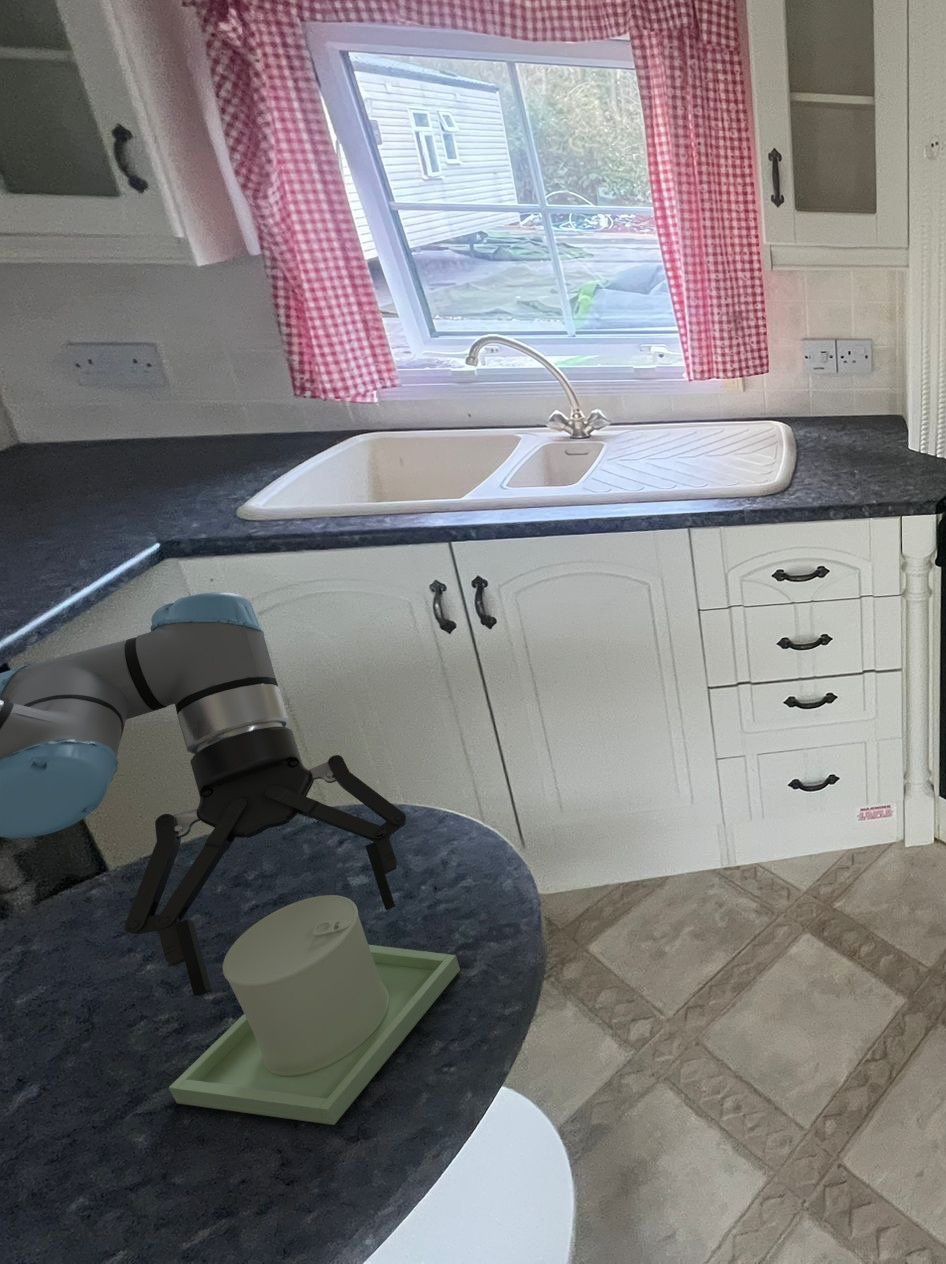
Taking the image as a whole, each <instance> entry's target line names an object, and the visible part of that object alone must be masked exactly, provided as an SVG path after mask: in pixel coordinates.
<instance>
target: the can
mask: <svg viewBox="0 0 946 1264" xmlns="http://www.w3.org/2000/svg"><path fill="white" fill-rule="evenodd" d="M369 945H370V944H369V943H368V940H367V937H366V933H365V930H364V928H363V925H362V922H361V918H360V916H359V909H358V906H357V905H356V904H355V902H354V901H352V899H350V898H348V897H346V896H342V895H338V894H337V895H335V894H324V895H323V894H322V895H316V896H312V897H308V898H304V899H301V900H298V901H295V902H292V903H290V904H287V905H285V906H283V907H281V908H278V909H277V910H275V911H273V912H271V913H269V914H268V915H266V916H264V917H263V918H261V919H259V920H258V921H257V922H256V923H254V924H253V925H251V926H250V927H249V928H248V929H247V930H245V931H244V932H243V933H242V934H241V935H240V936H239V937H238V938H236V940H235V941H234V942H233V944H232V945H231V946H230V948H229V949H228V951H227V953H226V955H225V957H224V958H223V962H222V974H223V976H224V978H225V979H226V980H227V982H228V983H229V985H230V988H231V990H232V991H233V993H234V996H235V997H236V1000H237V1001H238V1003H239V1006H240V1008H241V1010H242V1012H243V1014H245V1016H246V1018H247V1021H248V1023H249V1025H250V1027H251V1029H252V1032H253V1034H254V1036H255V1038H256V1041H257V1043H258V1045H259V1048H260V1050H261V1053H262V1060H263V1063H264V1065H265V1067H266V1068H267V1069H268V1070H269V1071H270V1072H272V1073H274V1074H276V1075H280V1076H299V1075H304V1074H308V1073H312V1072H315V1071H318V1070H320V1069H323V1068H325V1067H327V1066H329V1065H331V1064H333V1063H335V1062H337V1061H339V1060H341V1059H342V1058H344V1057H345V1056H347V1055H348V1054H350V1053H351V1052H353V1051H354V1050H355V1049H357V1048H358V1047H359V1046H360V1045H361V1044H362V1043H364V1042H365V1041H366V1040H367V1039H368V1038H369V1037H370V1036H371V1035H372V1034H373V1032H374V1031H375V1030H376V1029H377V1028H378V1026H379V1025H380V1023H381V1022H382V1020H383V1018H384V1017H385V1015H386V1012H387V1010H388V1006H389V993H388V990H387V989H386V987H385V986H384V985H383V983H382V980H381V978H380V975H379V973H378V970H377V967H376V965H375V962H374V959H373V956H372V954H371V951H370V948H369Z"/></svg>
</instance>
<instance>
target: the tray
mask: <svg viewBox="0 0 946 1264" xmlns="http://www.w3.org/2000/svg"><path fill="white" fill-rule="evenodd" d="M368 945H369V948H370V951H371V954H372V956H373V959H374V962H375V965H376V967H377V970H378V973H379V975H380V978H381V980H382V983H383V985H384V986H385V987H386V989H387V990H388V993H389V1006H388V1010H387V1012H386V1015H385V1017H384V1018H383V1020H382V1022H381V1023H380V1025H379V1026H378V1028H377V1029H376V1030H375V1031H374V1032H373V1034H372V1035H371V1036H370V1037H369V1038H368V1039H367V1040H366V1041H365V1042H364V1043H362V1044H361V1045H360V1046H359V1047H358V1048H357V1049H355V1050H354V1051H353V1052H351V1053H350V1054H348V1055H347V1056H345V1057H344V1058H342V1059H341V1060H339V1061H337V1062H335V1063H333V1064H331V1065H329V1066H327V1067H325V1068H323V1069H320V1070H318V1071H315V1072H312V1073H308V1074H304V1075H299V1076H280V1075H276V1074H274V1073H272V1072H270V1071H269V1070H268V1069H267V1068H266V1067H265V1065H264V1063H263V1060H262V1053H261V1050H260V1048H259V1045H258V1043H257V1041H256V1038H255V1036H254V1034H253V1032H252V1029H251V1027H250V1025H249V1023H248V1021H247V1018H246V1016H245V1014H244V1013H243V1014H242V1015H241V1016H240V1017H239V1018H238V1019H237V1020H236V1021H235V1022H234V1023H233V1024H232V1025H231V1026H230V1027H228V1029H227V1030H226V1031H225V1032H223V1034H222V1035H221V1036H219V1038H218V1039H217V1040H216V1041H214V1043H213V1044H211V1045H210V1046H209V1047H208V1048H207V1049H206V1050H205V1051H204V1052H203V1053H202V1054H201V1055H200V1056H199V1057H198V1058H197V1059H196V1060H195V1061H194V1062H193V1063H192V1064H191V1065H190V1066H189V1067H188V1068H187V1069H186V1070H185V1071H184V1072H183V1073H182V1074H180V1075H179V1076H178V1078H176V1080H175V1081H173V1082H172V1083H171V1084H170V1085H169V1087H168V1090H169V1092H170V1093H171V1096H172V1098H173V1099H174V1101H175V1103H176V1104H179V1105H186V1106H194V1107H201V1108H208V1109H215V1110H216V1109H217V1110H221V1111H222V1110H223V1111H229V1112H237V1113H243V1114H251V1115H257V1116H258V1115H259V1116H267V1117H274V1118H280V1119H287V1120H294V1121H295V1120H297V1121H303V1122H309V1123H310V1122H311V1123H317V1124H323V1125H324V1124H325V1125H331V1126H334V1125H336V1123H337V1122H338V1121H339V1120H340V1119H341V1118H342V1116H343V1115H344V1114H345V1112H346V1111H347V1110H348V1109H349V1108H350V1107H351V1105H352V1104H353V1103H354V1102H355V1100H356V1099H357V1098H358V1097H359V1096H360V1095H361V1093H362V1092H363V1090H364V1089H365V1088H366V1087H367V1085H368V1084H369V1083H370V1082H371V1080H372V1079H373V1078H374V1077H375V1075H377V1073H378V1072H379V1071H380V1070H381V1068H382V1067H383V1066H384V1064H385V1063H386V1062H387V1061H388V1059H390V1058H391V1056H392V1055H393V1053H394V1052H395V1051H396V1050H397V1049H398V1048H399V1046H400V1045H401V1044H402V1042H403V1041H404V1040H405V1039H406V1037H407V1036H408V1035H409V1034H410V1033H411V1031H412V1030H413V1029H414V1027H415V1026H416V1025H417V1024H418V1022H420V1020H421V1019H422V1017H423V1016H425V1014H426V1013H427V1011H428V1010H429V1009H430V1008H431V1007H432V1005H433V1004H434V1003H435V1002H436V1001H437V999H438V998H439V997H440V996H441V994H443V992H444V990H446V988H447V987H448V986H449V984H450V983H451V982H452V981H453V980H454V978H455V977H456V976H457V974H459V972H460V971H461V968H460V964H459V961H458V957H457V955H456V954H451V953H450V954H448V953H440V952H433V951H423V950H414V949H407V948H400V947H392V946H391V947H390V946H382V945H375V944H368Z"/></svg>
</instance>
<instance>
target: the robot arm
mask: <svg viewBox="0 0 946 1264" xmlns="http://www.w3.org/2000/svg"><path fill="white" fill-rule="evenodd" d="M172 705H174V706H175V711H176V714H177V721H178V723H179V727H180V730H181V734H182V737H183V740H184V745H185V747H186V752H187V753H190V754H192V755H193V756H192V757H191V759H190V766H191V769H192V773H193V777H194V780H195V784H196V787H197V791H198V794H199V803H198V806H197V808H195V809H191V810H188V811H184V812H180V813H177V814H170V813H163V814H161V815H159V816H158V817H157V818H156V820H155V821H154V822H155V823H154V825H155V838H156V842H155V845H154V847H153V850H152V853H151V855H150V858H149V860H148V863H147V866H146V868H145V871H144V874H143V876H142V879H141V882H140V885H139V887H138V889H137V891H136V894H135V897H134V900H133V902H132V905H131V908H130V910H129V913H128V916H127V918H126V920H125V924H124V927H123V929H124V931H125V932H127V933H128V934H133V935H142V934H146V933H154V932H156V933H157V934H158V935H159V940H160V943H161V947H162V950H163V951H162V952H163V954H164V955H163V956H164V959H165V962H166V963H168V964H169V966H176V965H180V964H182V963H184V964H185V967H186V971H187V976H188V979H189V982H190V983H189V984H190V987H191V991H192V995H193V997H202V996H204V995H206V994H208V993H210V992H212V989H213V988H212V985H211V982H210V978H209V975H208V970H207V967H206V963H205V959H204V955H203V952H202V949H201V945H200V941H199V938H198V937H199V936H198V933H197V930H196V926H195V923H194V921H193V920H191V919H184V920H183V918H184V917H185V916H186V914H187V912H188V911H189V909H190V908H191V906H192V904H193V903H194V902H195V900H196V898H197V897H198V895H199V894H200V892H201V891H202V889H203V888H204V886H205V884H206V883H207V881H208V879H209V878H210V877H211V875H212V873H213V872H214V870H215V868H216V867H217V866H218V864H219V863H220V860H221V859H222V857H223V856H224V854H225V853H226V852H227V851H228V850H229V849H230V848H231V845H232V844H233V842H234V841H235V840H236V838H238V839H242V838H243V839H244V838H247V839H250V838H251V837H254V836H257V835H260V834H261V833H262V832H263V833H264V831H266V830H268V829H272V828H277V827H281V826H284V825H286V824H289V823H290V821H291V820H293V819H294V818H295V817H296V816H297V815H298V814H299V815H301V816H304V817H307V818H310V819H313V820H316V821H320V822H322V823H324V824H327V825H330V826H332V827H334V828H337V829H340V830H343V831H345V832H348V833H351V834H353V835H356V836H358V837H361V838H363V839H366V840H369V841H370V842H371V841H372V842H371V843H369V844H367V845H365V846H364V847H365V849H366V854H367V857H368V859H369V863H370V865H371V868H372V872H373V875H374V878H375V881H376V884H377V888H378V890H379V894H380V897H381V900H382V903H383V907H384V910H385V911H388V910H390V909H393V908H395V907H396V904H395V900H394V898H393V894H392V892H391V888H390V885H389V882H388V879H387V875H386V874H388V873H390V872H393V871H395V870H397V868H398V867H397V866H398V861H397V858H396V855H395V852H394V849H393V846H392V843H391V838H392V836H393V835H394V834H395V833H396V832H397V831H399V830H400V829H402V828H404V827H405V826H406V824H407V821H408V820H407V815H406V814H405V812H403V811H402V810H401V809H399V808H398V807H397V806H396V805H394V804H393V803H391V802H390V801H389V800H387V798H385V797H383V796H382V795H381V794H379V792H376V790H374V789H373V788H371V786H369V785H368V784H367V783H365V782H364V781H362V780H361V779H360V778H358V777H357V776H356V775H354V774H353V773H352V772H351V771H350V770H349V768H348V765H347V764H346V761H345V760H344V758H343V756H342V755H340V754H334V755H332V756H330V757H329V758H328V760H327V761H326V762H323V763H321V764H319V765H317V766H313V767H312V768H310V769H309V768H307V767H306V766H304V764H303V761H302V758H301V755H300V751H299V748H298V744H297V741H296V737H295V735H294V732H293V729H291V728H288V727H287V725H288V724H289V722H290V720H289V719H290V718H289V716H288V712H287V709H286V706H285V702H284V699H283V696H282V693H281V690H280V687H279V684H278V681H277V677H276V674H275V670H274V667H273V663H272V660H271V656H270V653H269V649H268V645H267V641H266V638H265V632H264V631H263V629H262V628H261V626H260V623H259V621H258V617H257V615H256V612H255V610H254V607H253V604H252V602H251V601H250V599H248V598H246V597H245V596H243V595H241V594H237V593H233V592H227V591H225V592H224V591H213V592H204V593H198V594H193V595H189V596H184V597H181V598H178V599H177V600H175V601H174V602H170V603H166V604H163V605H162V606H160V607H158V608H157V609H156V610H155V611H154V613H153V614H152V615H151V626H150V631H149V632H145V633H143V634H138V635H137V636H136V637H131V638H127V639H124V640H120V641H116V642H113V643H109V644H104V645H100V646H97V647H93V648H89V649H85V650H81V651H77V652H73V653H69V654H66V655H65V654H64V655H62V656H57V657H53V658H49V659H46V660H42V661H31V662H29V663H24V664H22V665H19V666H17V667H16V668H13V669H10V670H7V671H3V672H1V673H0V838H7V839H27V838H35V837H40V836H41V837H42V836H46V835H50V834H54V833H56V832H59V831H61V830H64V829H67V828H69V827H72V826H73V825H75V824H77V823H78V822H80V821H82V820H83V819H85V818H86V817H87V816H89V815H90V814H91V813H92V812H93V811H95V810H97V809H98V808H99V806H100V804H101V803H102V802H103V800H104V798H105V796H106V794H107V793H108V790H109V787H110V784H111V782H112V781H113V779H114V776H115V773H117V771H118V765H119V762H118V753H119V748H120V743H121V740H122V737H123V734H124V730H125V729H124V728H125V727H126V726H125V725H126V721H127V720H130V719H133V718H136V717H139V716H143V715H145V714H146V715H147V714H149V713H152V712H155V711H158V710H162V709H165V708H167V707H169V706H172ZM319 779H320V780H323V781H324V782H325V783H327V784H333V783H337V784H338V785H339V786H340V787H341V788H342V789H343V790H345V791H346V793H348V794H350V795H351V796H352V797H354V798H355V799H356V800H357V801H359V802H360V803H362V804H363V805H364V806H366V807H367V808H368V809H370V811H372V812H374V813H375V814H376V815H377V816H379V817H380V818H382V819H383V820H384V821H385V822H384V823H382V824H381V825H380V824H376V823H374V822H370V821H368V820H366V819H363V818H362V817H361V818H360V817H358V816H356V815H353V814H350V813H347V812H346V811H343V810H340V809H337V808H335V807H332V806H330V805H327V804H325V803H322V802H320V801H318V800H316V799H314V798H311V797H308V794H309V792H310V790H311V789H312V786H313V784H314V781H316V780H319ZM198 822H202V823H204V824H206V825H207V826H210V827H212V828H213V830H212V831H211V833H210V834H209V836H208V837H207V839H206V841H205V842H204V845H203V847H202V849H201V851H200V852H199V854H197V857H196V858H195V860H194V861H193V863H192V864H191V866H190V867H189V869H188V870H187V872H186V873H185V874H184V876H183V878H182V879H181V881H180V882H179V884H178V886H176V888H175V890H174V892H173V893H172V895H171V897H170V898H169V899H168V900H167V903H166V904H165V905H164V907H163V908H162V910H161V912H160V913H159V914H156V913H157V910H158V907H159V905H160V902H161V899H162V896H163V894H164V891H165V889H166V886H167V883H168V880H169V878H170V875H171V872H172V870H173V867H174V864H175V861H176V858H177V856H178V853H179V850H180V847H181V841H182V838H184V837H186V836H188V835H189V834H190V833H191V830H192V827H193V825H194V824H196V823H198Z"/></svg>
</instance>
